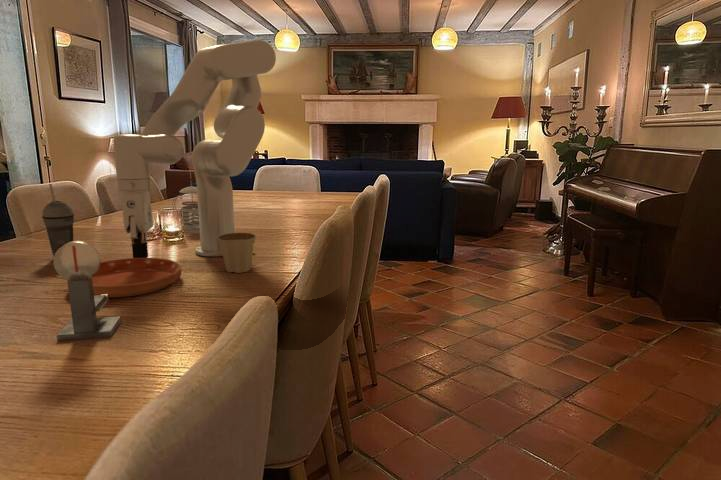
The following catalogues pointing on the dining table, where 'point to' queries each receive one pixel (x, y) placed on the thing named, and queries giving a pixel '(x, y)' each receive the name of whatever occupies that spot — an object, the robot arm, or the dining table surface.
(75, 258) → the indicator stand
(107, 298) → the plunger
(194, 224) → the french press
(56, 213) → the beverage cup
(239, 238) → the flower pot
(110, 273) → the saucer
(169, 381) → the dining table surface
